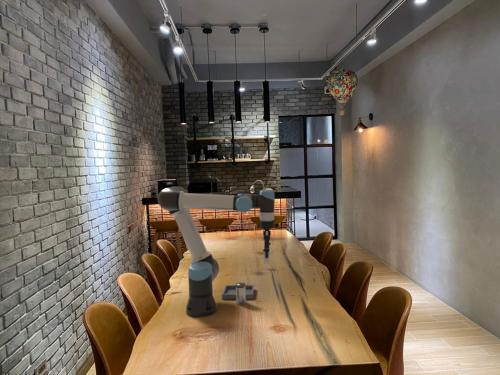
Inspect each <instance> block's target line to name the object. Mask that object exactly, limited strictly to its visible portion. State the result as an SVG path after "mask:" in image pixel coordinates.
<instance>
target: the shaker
mask: <svg viewBox="0 0 500 375" xmlns="http://www.w3.org/2000/svg"><path fill="white" fill-rule="evenodd" d="M235 285H236V299H235V301H236V303H235V304H236V305H237V306H244V305H246V304H247V299H246V285H247V284H246V283H245V282H237V283H235Z"/></svg>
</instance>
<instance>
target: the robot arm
mask: <svg viewBox="0 0 500 375" xmlns="http://www.w3.org/2000/svg"><path fill="white" fill-rule="evenodd" d="M275 200H276V199H275V191H274V190H270V189H262V190H260V191H259V193H238V194H237V195H232V194H230V195H229V194H211V193H210V194H209V193H191V192H190V193H188V191H187V190H186V189H185V188H183V187H182V186H179V185H178V186H176V185H175V186H174V185H173V186H170V187H166V188H164V189H162V190H161V191H160V192H159V193H158V196H157V202H158V205H159V206H160V208H162V209H163V210H164V211H168V213H169V216H171V217H174V220H175V221H176V224H177V226H178V229H179V231H180V234H181V236H182V238H183V240H184V243H185V244H186V247H187V250H188V252H189V255H190V256H191V261H190V265H189V266H188V268H187V269H188V271H187V276H188V299H187V304H186V305H185V306H186V307H185V313H186V315H187V316H189V317H196V318H204V317H208V316H211V315H213V314H215V313H216V312H217V310H218V309H217V303H216V300H215V297H214V294H213V282H214V280H215V279H216V278H218V277H217V276H218V274H219V270H220V265H219V262H218V261H217V260H216V259H215V258H214V257H213V254H212V253H211V252H209V251H208V250H207V248H206V245H205V243H204V241H203V239H202V236H201V234H200V232H199V229H198V227H197V225H196V223H195V220H194V218H193V216H192V214H191V211H190V210H192V209H193V210H212V211H213V210H214V211H232V212H233V211H234V212H240V213H247V212H249V211H250V210H252V209H256V210H257V209H259V228H260V229H263V231H262V235H263V240H264V244H263V245H264V246H263V247H264V249H262V252H263V265H270V245H271V242H270V240H271V235H272V234H271V233H272V232H271V230H270V229H274V227H275V216H276V213H275Z"/></svg>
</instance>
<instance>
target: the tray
mask: <svg viewBox="0 0 500 375" xmlns="http://www.w3.org/2000/svg"><path fill="white" fill-rule="evenodd" d="M254 293H255V285H254V284H246V300H254ZM221 300H236V284H233V285H230V284H229V285H228V284H226V285H225V286H224V288H223V290H222V294H221Z"/></svg>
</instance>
